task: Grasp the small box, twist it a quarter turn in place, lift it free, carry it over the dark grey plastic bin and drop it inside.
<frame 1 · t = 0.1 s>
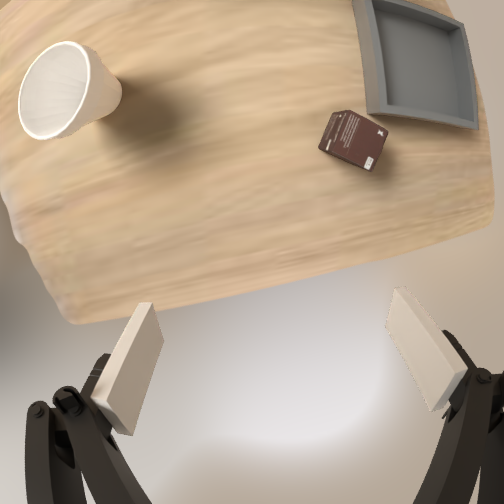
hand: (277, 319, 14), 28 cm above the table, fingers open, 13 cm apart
box: (342, 138, 36), on the table
cup: (104, 96, 33), on the table
bin: (415, 63, 30), on the table
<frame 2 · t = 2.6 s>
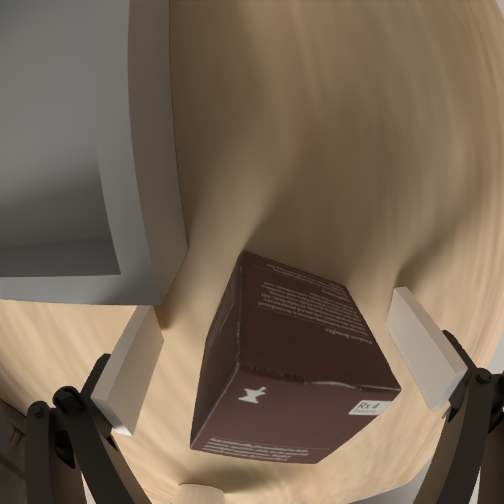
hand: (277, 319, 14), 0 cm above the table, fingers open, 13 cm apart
box: (274, 311, 15), on the table
cup: (201, 488, 29), on the table
bin: (14, 100, 9), on the table
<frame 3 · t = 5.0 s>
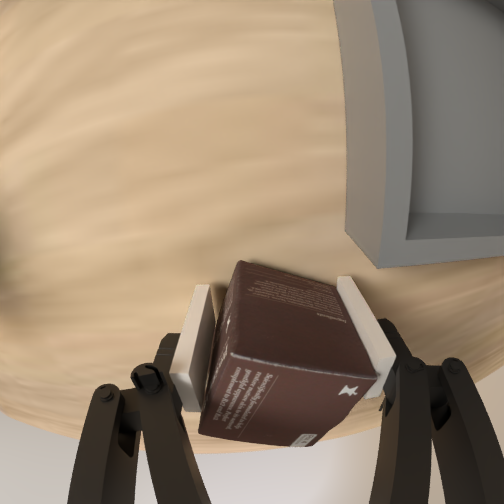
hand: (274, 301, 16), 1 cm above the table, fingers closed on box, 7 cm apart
box: (271, 311, 17), on the table, touching gripper
bin: (474, 85, 11), on the table
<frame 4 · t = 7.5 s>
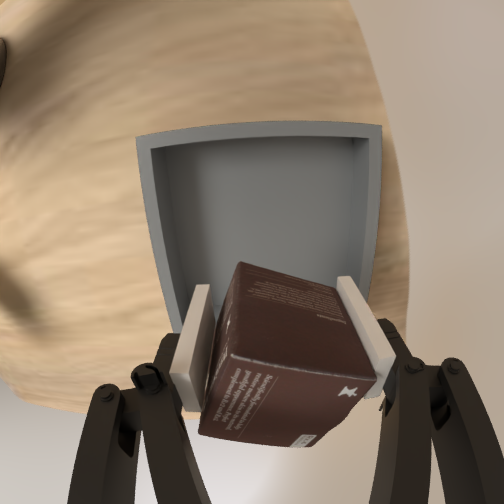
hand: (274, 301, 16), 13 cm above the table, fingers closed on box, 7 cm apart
box: (271, 312, 17), point 13 cm above the table, touching gripper
bin: (264, 225, 28), on the table
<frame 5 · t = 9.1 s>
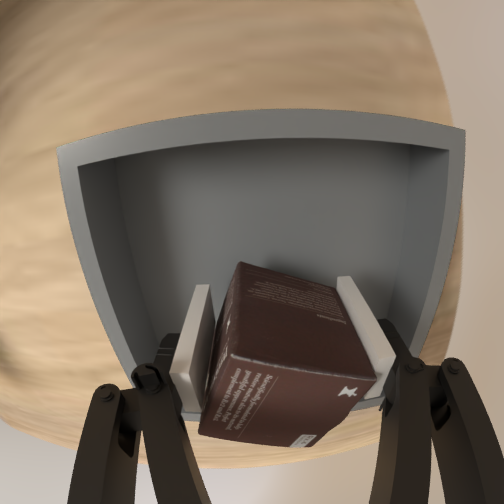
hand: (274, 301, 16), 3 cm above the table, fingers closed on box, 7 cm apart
box: (271, 312, 17), point 2 cm above the table, touching gripper
bin: (271, 278, 18), on the table
when the fingers open (2 cm above the table, at t = 10.2 s): box stays where it is, resting on bin.
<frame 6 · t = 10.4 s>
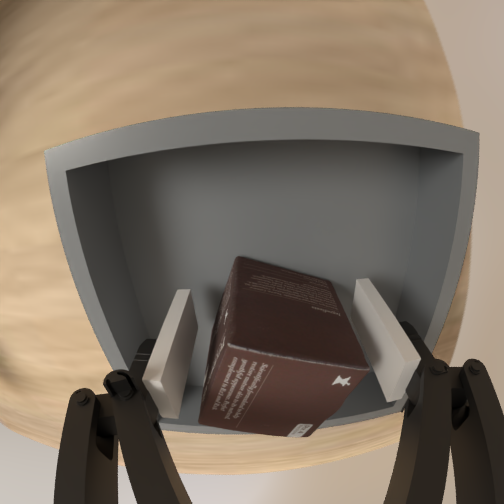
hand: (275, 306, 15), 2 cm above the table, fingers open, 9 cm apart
box: (269, 305, 17), resting on bin
bin: (273, 287, 17), on the table
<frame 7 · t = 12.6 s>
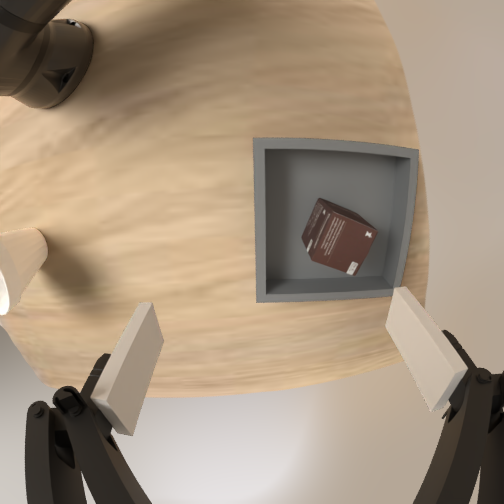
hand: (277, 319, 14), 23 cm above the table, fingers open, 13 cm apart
box: (329, 225, 35), resting on bin
cup: (36, 245, 38), on the table
bin: (331, 216, 35), on the table
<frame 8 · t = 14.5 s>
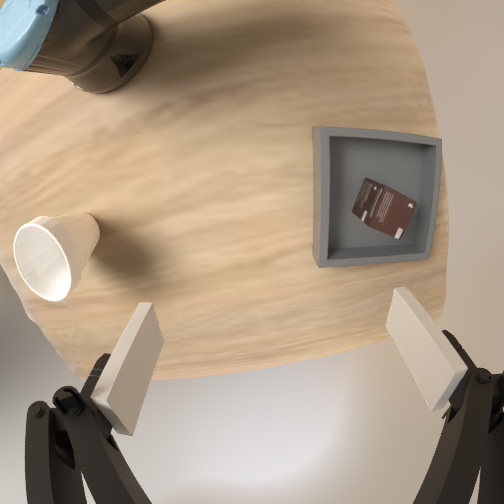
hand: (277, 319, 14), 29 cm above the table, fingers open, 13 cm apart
box: (372, 200, 40), resting on bin
cup: (85, 230, 42), on the table
bin: (373, 193, 40), on the table
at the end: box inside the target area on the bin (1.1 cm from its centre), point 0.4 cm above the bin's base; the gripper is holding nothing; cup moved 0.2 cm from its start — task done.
